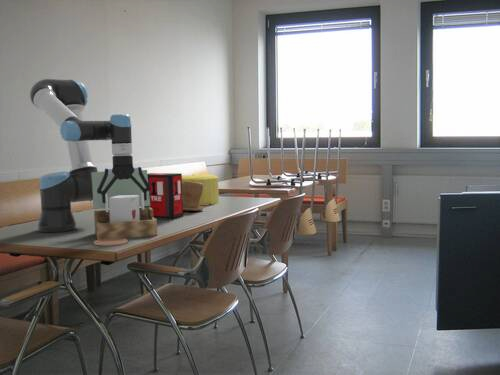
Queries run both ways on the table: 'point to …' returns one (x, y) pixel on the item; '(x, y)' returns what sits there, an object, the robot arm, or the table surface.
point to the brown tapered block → (191, 196)
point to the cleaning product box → (166, 195)
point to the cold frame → (125, 225)
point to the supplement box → (124, 208)
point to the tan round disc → (110, 241)
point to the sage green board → (117, 188)
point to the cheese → (205, 187)
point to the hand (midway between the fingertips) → (125, 210)
